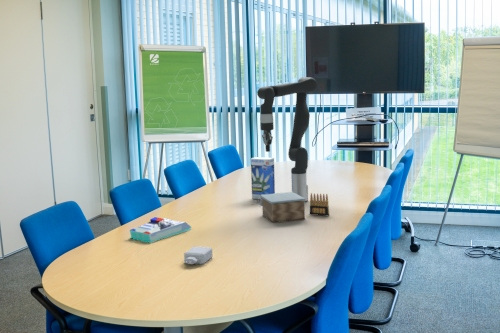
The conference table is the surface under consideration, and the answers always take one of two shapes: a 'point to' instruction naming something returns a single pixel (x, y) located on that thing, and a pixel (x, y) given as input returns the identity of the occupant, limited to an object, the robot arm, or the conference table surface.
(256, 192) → the string lights box
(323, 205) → the ammunition clip
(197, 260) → the charger
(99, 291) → the conference table surface
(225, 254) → the conference table surface
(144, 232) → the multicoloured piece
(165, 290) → the conference table surface
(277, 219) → the walnut box
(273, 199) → the box lid
